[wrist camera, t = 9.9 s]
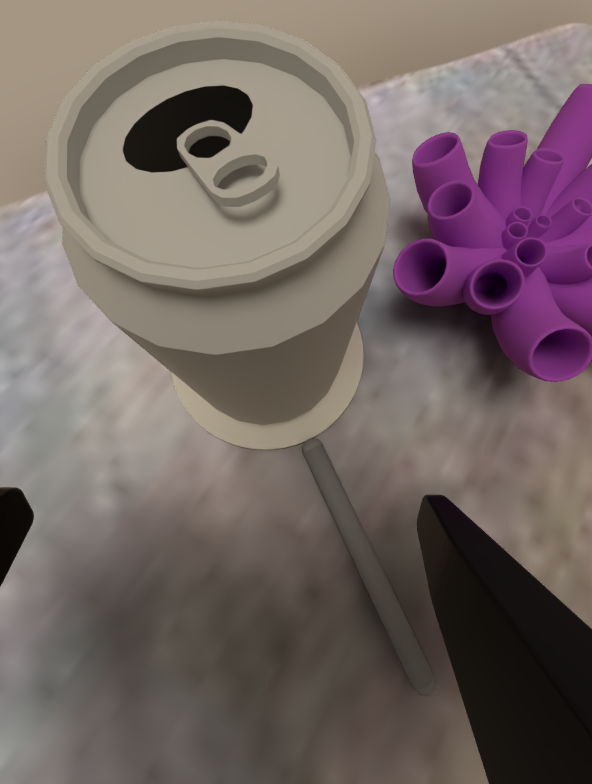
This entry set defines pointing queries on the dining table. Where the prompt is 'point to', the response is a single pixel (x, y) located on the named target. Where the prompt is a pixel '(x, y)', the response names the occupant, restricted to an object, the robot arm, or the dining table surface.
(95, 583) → the dining table surface
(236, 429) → the disc
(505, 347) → the purple tube coral sculpture
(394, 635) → the thin grey rod
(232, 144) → the can
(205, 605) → the dining table surface
